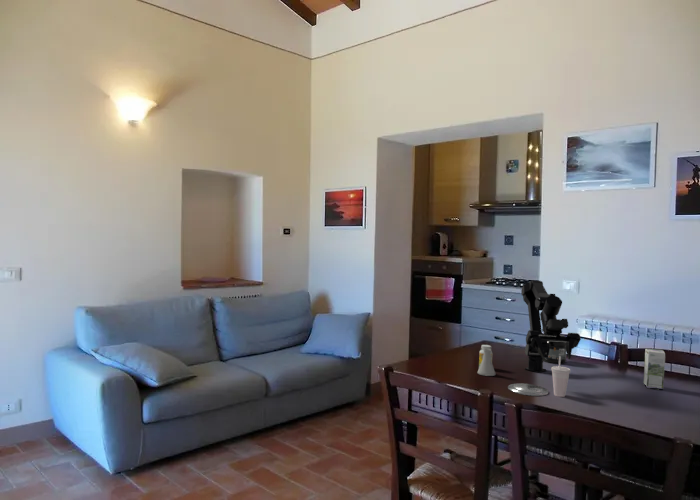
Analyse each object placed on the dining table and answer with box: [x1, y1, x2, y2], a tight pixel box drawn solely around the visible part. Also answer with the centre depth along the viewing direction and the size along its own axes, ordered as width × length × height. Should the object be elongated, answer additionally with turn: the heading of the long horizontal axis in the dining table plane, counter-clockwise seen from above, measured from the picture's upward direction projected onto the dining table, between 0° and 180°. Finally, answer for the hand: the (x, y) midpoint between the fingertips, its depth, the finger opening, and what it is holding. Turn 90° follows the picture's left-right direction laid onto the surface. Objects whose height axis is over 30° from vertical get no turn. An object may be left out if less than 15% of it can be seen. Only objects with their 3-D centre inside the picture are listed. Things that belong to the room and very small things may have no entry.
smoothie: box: [550, 356, 571, 398], centre depth 182 cm, size 6×6×14 cm
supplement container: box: [543, 334, 567, 365], centre depth 236 cm, size 10×10×12 cm
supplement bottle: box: [478, 344, 493, 368], centre depth 218 cm, size 5×5×10 cm
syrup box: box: [643, 348, 666, 389], centre depth 198 cm, size 6×6×14 cm
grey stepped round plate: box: [507, 383, 549, 397], centre depth 188 cm, size 14×14×1 cm
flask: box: [476, 349, 496, 377], centre depth 208 cm, size 7×7×10 cm
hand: (556, 358), depth 188 cm, fingers open, 9 cm apart
